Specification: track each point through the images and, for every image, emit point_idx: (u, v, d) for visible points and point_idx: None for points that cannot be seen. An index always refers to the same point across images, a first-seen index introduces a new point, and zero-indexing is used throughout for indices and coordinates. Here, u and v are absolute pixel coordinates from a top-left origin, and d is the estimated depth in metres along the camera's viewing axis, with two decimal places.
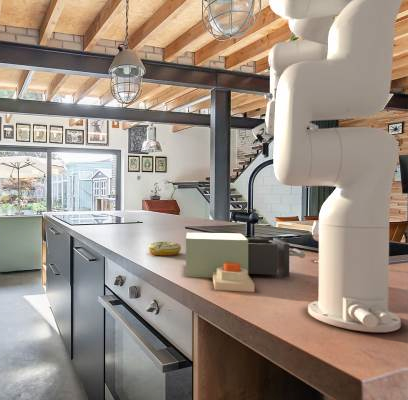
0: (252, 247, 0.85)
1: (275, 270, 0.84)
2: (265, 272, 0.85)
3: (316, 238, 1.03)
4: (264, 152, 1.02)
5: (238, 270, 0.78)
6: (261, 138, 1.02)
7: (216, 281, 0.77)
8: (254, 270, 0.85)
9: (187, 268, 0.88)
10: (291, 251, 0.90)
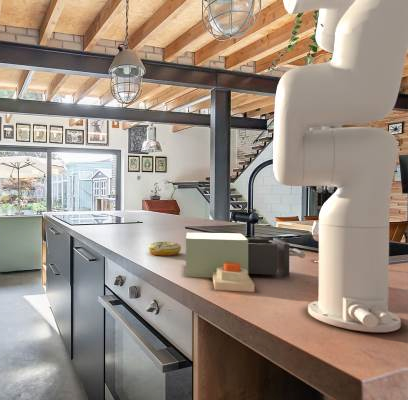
0: (252, 247, 0.85)
1: (275, 270, 0.84)
2: (265, 272, 0.85)
3: (316, 238, 1.03)
4: (319, 203, 0.86)
5: (238, 270, 0.78)
6: (315, 186, 0.86)
7: (216, 281, 0.77)
8: (254, 270, 0.85)
9: (187, 268, 0.88)
10: (291, 251, 0.90)
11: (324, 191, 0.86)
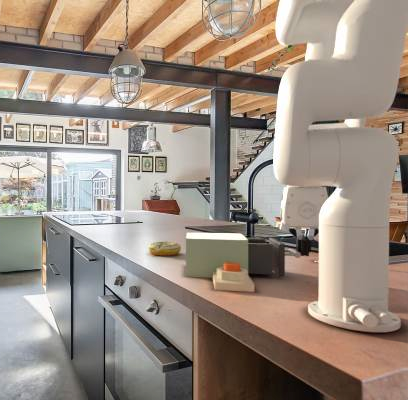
0: (248, 247, 0.86)
1: (271, 270, 0.85)
2: (261, 272, 0.85)
3: (316, 238, 1.03)
4: (299, 250, 0.87)
5: (238, 270, 0.78)
6: (296, 233, 0.87)
7: (216, 281, 0.77)
8: (250, 270, 0.86)
9: (187, 268, 0.88)
10: (287, 251, 0.90)
11: (304, 238, 0.87)
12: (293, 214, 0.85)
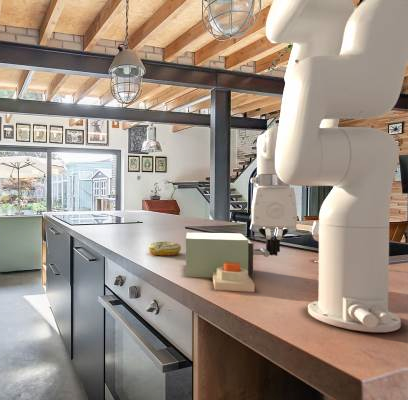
0: None
1: None
2: None
3: (316, 238, 1.03)
4: (268, 249, 0.89)
5: (238, 270, 0.78)
6: (265, 233, 0.89)
7: (216, 281, 0.77)
8: None
9: (187, 268, 0.88)
10: (257, 250, 0.92)
11: (274, 237, 0.89)
12: (262, 214, 0.87)
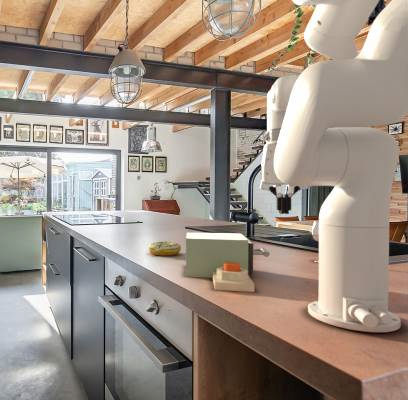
0: None
1: None
2: None
3: (316, 238, 1.03)
4: (279, 208, 0.85)
5: (238, 270, 0.78)
6: (276, 191, 0.86)
7: (216, 281, 0.77)
8: None
9: (187, 268, 0.88)
10: (257, 250, 0.92)
11: (285, 196, 0.86)
12: (272, 170, 0.84)
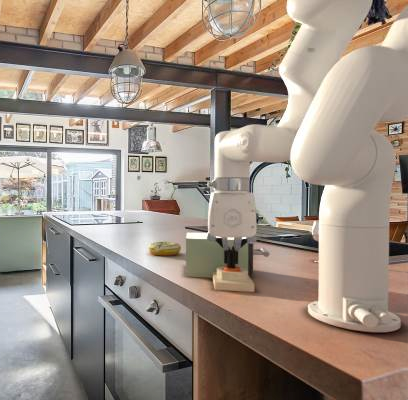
0: None
1: None
2: None
3: (316, 238, 1.03)
4: (226, 261, 0.80)
5: None
6: (222, 243, 0.80)
7: (216, 281, 0.77)
8: None
9: (187, 268, 0.88)
10: (257, 250, 0.92)
11: (232, 248, 0.80)
12: (218, 222, 0.78)
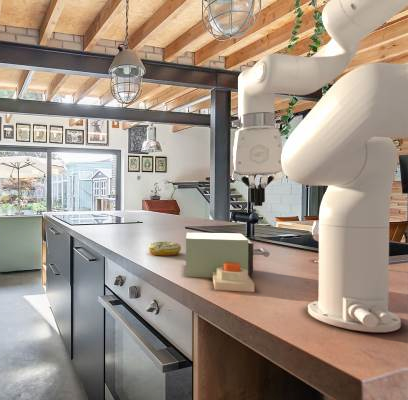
0: None
1: None
2: None
3: (316, 238, 1.03)
4: (252, 199, 0.79)
5: (238, 270, 0.78)
6: (248, 181, 0.79)
7: (216, 281, 0.77)
8: None
9: (187, 268, 0.88)
10: (257, 250, 0.92)
11: (258, 186, 0.80)
12: (244, 159, 0.78)
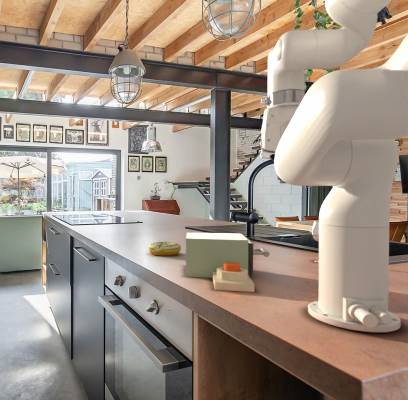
0: None
1: None
2: None
3: (316, 238, 1.03)
4: None
5: (238, 270, 0.78)
6: None
7: (216, 281, 0.77)
8: None
9: (187, 268, 0.88)
10: (257, 250, 0.92)
11: None
12: (274, 136, 0.78)
